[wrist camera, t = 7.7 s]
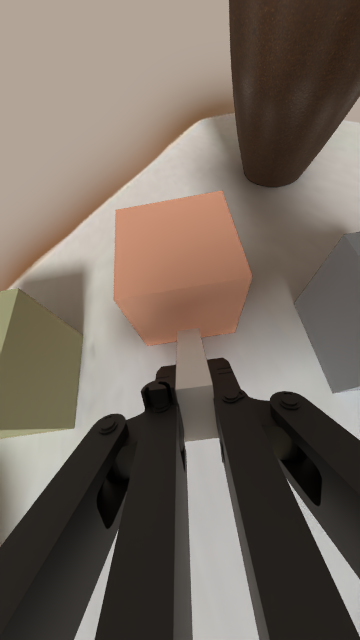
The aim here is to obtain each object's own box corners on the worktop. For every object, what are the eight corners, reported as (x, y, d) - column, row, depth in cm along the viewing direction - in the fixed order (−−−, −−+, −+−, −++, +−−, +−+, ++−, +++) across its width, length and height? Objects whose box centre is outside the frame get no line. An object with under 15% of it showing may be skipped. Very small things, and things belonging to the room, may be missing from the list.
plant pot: (312, 134, 31) (401, -107, 17) (354, 198, 25) (557, -111, 10) (211, 149, 33) (216, -66, 18) (225, 214, 26) (249, -46, 12)
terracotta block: (143, 276, 23) (115, 209, 16) (216, 264, 23) (222, 190, 16) (147, 346, 19) (113, 299, 12) (234, 332, 19) (252, 276, 12)
